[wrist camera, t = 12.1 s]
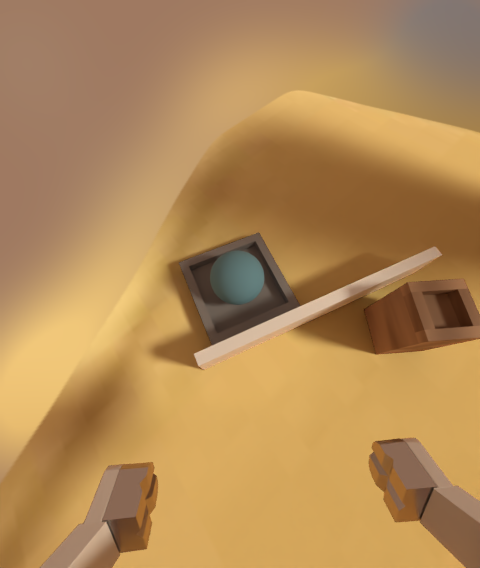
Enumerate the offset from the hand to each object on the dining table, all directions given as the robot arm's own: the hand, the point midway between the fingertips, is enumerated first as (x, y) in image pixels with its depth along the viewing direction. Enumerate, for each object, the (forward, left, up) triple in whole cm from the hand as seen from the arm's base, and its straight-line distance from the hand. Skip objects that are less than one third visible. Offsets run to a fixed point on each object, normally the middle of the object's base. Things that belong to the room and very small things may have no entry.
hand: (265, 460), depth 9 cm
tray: (-4, -11, -13) cm, 18 cm away
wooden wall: (-10, -6, -13) cm, 18 cm away
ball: (-4, -11, -10) cm, 16 cm away
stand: (-16, -1, -13) cm, 21 cm away
